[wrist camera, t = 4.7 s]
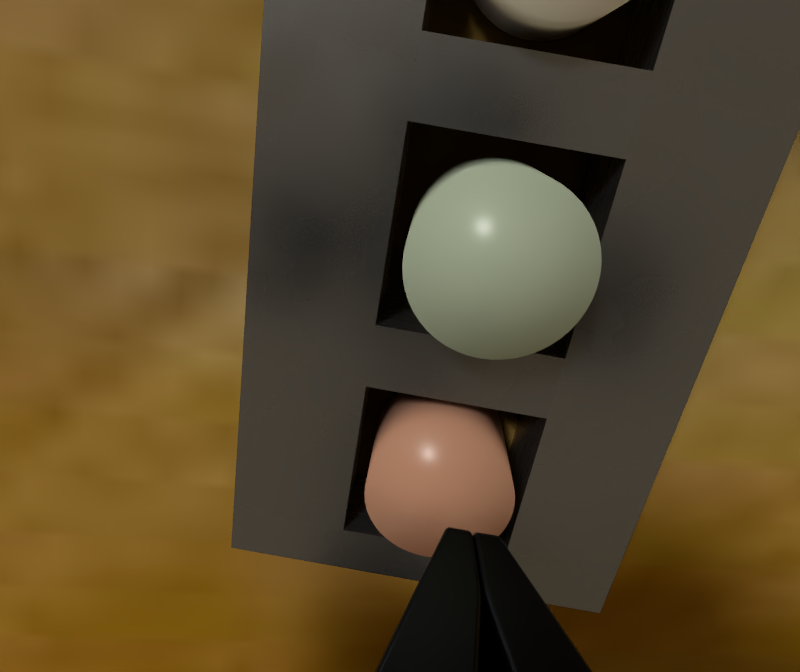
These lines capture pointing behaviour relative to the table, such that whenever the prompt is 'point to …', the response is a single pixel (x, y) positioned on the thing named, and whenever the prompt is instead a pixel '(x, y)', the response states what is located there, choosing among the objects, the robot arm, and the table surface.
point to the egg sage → (500, 259)
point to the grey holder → (511, 378)
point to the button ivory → (545, 16)
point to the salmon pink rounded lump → (437, 472)
